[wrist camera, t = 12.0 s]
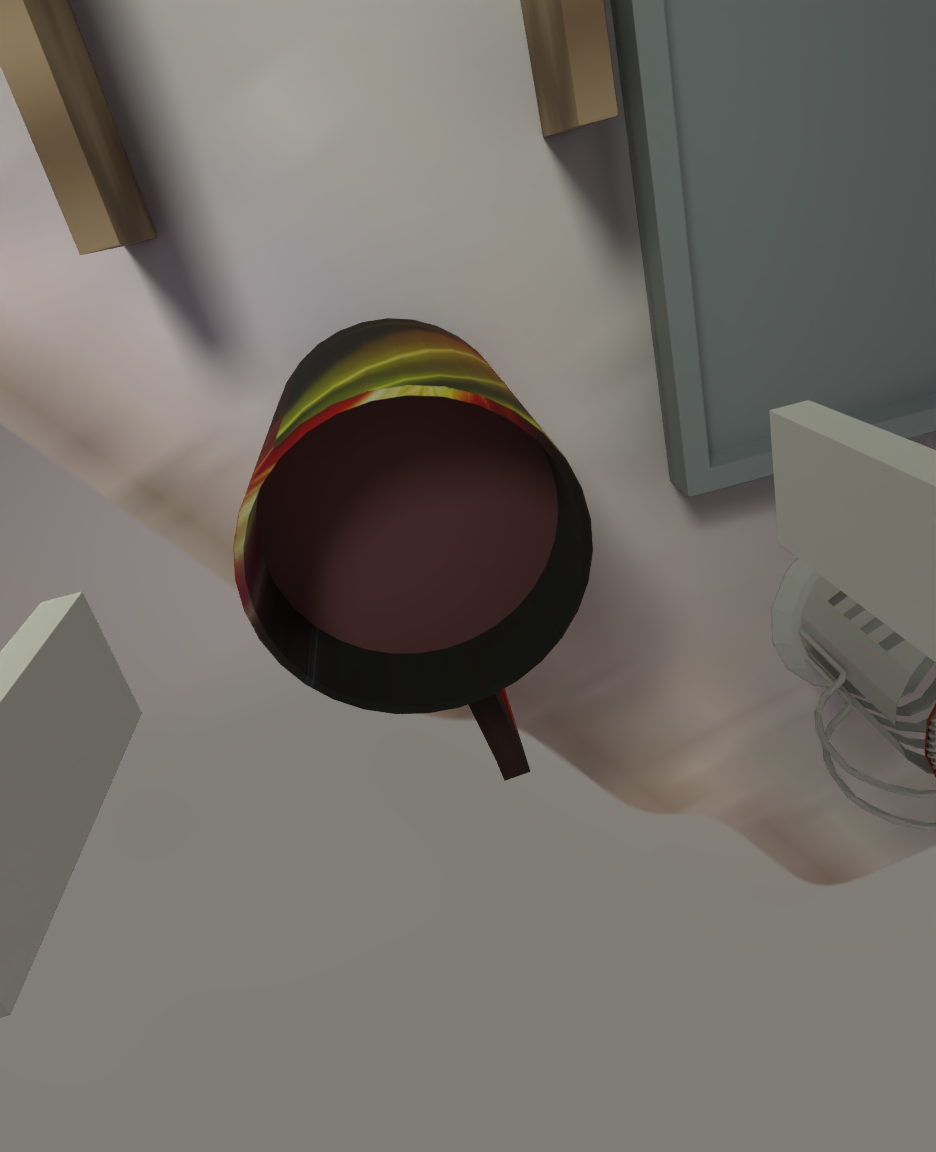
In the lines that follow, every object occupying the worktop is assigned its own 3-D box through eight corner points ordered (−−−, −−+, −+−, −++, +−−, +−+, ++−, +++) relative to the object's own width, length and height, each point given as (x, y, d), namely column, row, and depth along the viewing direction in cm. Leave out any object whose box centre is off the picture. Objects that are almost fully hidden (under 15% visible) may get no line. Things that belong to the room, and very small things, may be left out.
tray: (599, -95, 26) (618, -118, 24) (1074, -216, 26) (1132, -249, 24) (670, 480, 34) (688, 497, 33) (1024, 386, 35) (1063, 396, 33)
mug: (475, 646, 37) (526, 831, 26) (223, 454, 32) (156, 587, 21) (627, 494, 35) (752, 628, 24) (383, 261, 29) (400, 298, 19)
